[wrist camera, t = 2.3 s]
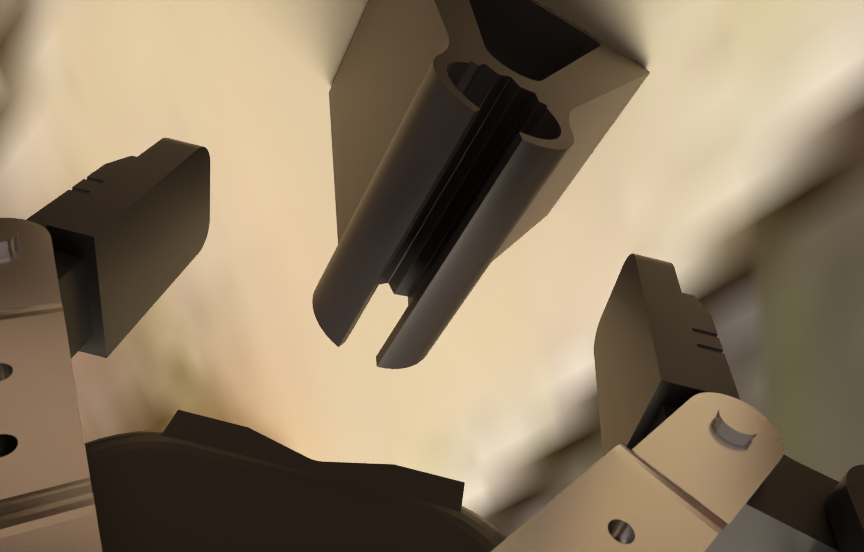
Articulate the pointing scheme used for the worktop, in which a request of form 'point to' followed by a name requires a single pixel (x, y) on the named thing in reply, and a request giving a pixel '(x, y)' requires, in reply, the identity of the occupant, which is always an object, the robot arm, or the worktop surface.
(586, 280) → the worktop surface
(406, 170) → the phone stand
